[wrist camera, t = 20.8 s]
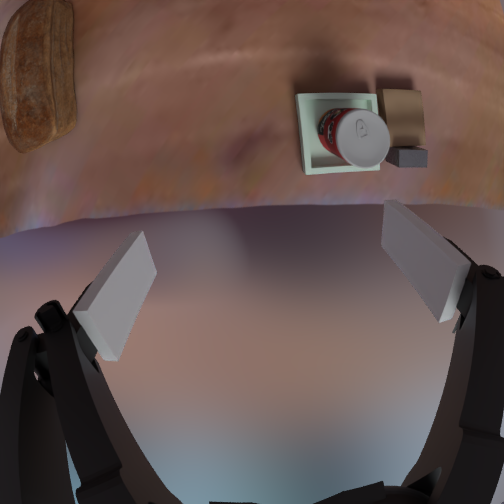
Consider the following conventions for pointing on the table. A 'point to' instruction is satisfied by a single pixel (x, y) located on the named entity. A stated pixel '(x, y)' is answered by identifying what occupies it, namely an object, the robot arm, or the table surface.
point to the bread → (38, 74)
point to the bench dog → (407, 156)
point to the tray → (308, 119)
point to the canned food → (354, 136)
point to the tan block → (402, 116)
